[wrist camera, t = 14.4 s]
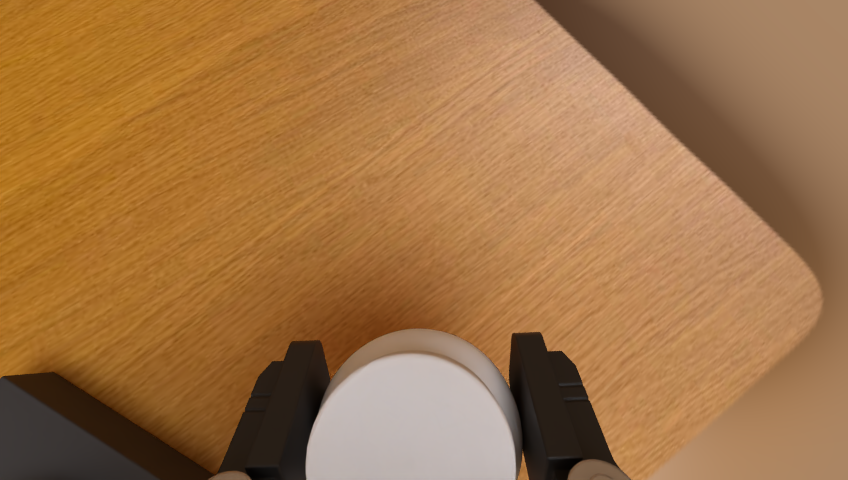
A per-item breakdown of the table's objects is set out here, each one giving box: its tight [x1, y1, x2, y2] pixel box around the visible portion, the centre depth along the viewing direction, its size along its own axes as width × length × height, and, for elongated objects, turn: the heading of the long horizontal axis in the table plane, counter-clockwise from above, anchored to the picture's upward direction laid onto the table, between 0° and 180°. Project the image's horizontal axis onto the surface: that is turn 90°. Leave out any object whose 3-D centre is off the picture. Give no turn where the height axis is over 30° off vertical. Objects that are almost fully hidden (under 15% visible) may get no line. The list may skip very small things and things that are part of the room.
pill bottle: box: [306, 328, 523, 480], centre depth 12 cm, size 5×5×9 cm
